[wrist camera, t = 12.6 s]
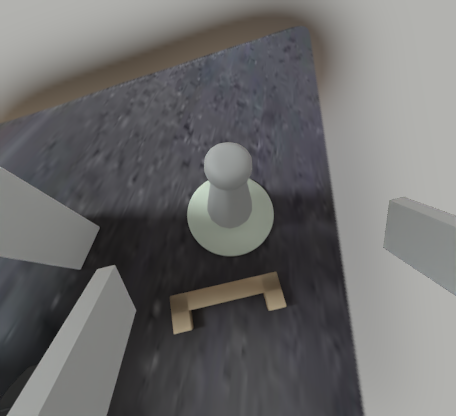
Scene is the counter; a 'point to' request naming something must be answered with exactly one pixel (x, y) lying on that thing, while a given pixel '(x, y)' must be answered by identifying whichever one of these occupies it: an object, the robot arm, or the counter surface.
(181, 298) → the oak holder
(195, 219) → the disc
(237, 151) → the salt shaker
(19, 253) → the milk
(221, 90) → the counter surface
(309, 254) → the counter surface
